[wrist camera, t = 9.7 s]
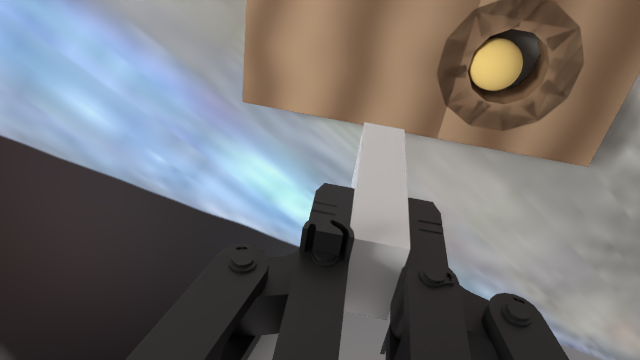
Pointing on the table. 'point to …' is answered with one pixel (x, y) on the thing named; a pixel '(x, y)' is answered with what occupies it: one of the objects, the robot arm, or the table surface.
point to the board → (447, 68)
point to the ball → (496, 64)
